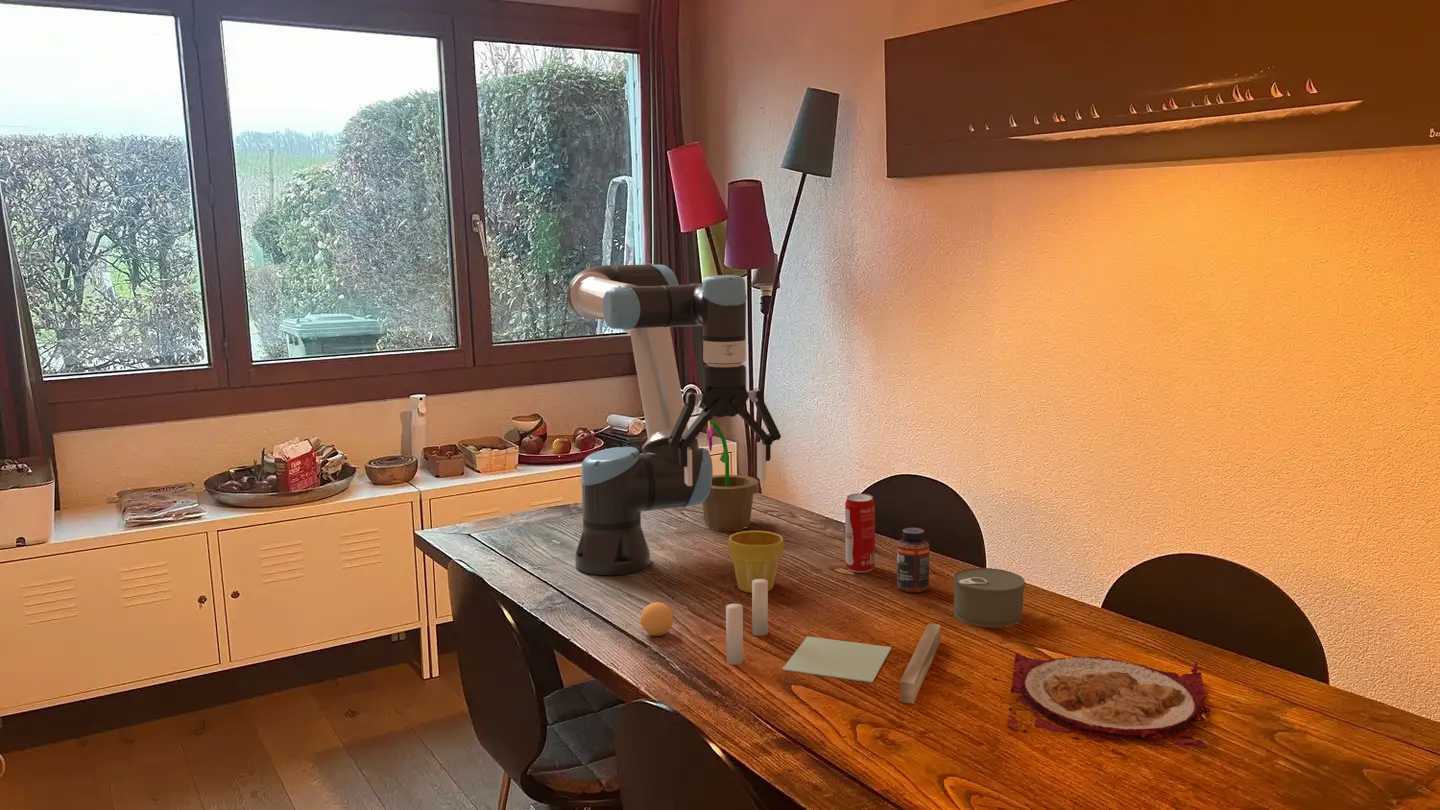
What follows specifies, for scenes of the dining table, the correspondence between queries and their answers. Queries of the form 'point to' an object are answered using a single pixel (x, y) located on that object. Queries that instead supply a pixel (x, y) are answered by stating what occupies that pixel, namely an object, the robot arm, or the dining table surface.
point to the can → (988, 597)
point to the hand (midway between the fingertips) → (725, 481)
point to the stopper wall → (919, 664)
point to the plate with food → (1109, 698)
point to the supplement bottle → (913, 561)
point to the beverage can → (860, 533)
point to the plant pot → (755, 557)
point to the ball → (657, 619)
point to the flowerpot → (728, 493)
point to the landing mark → (838, 659)
